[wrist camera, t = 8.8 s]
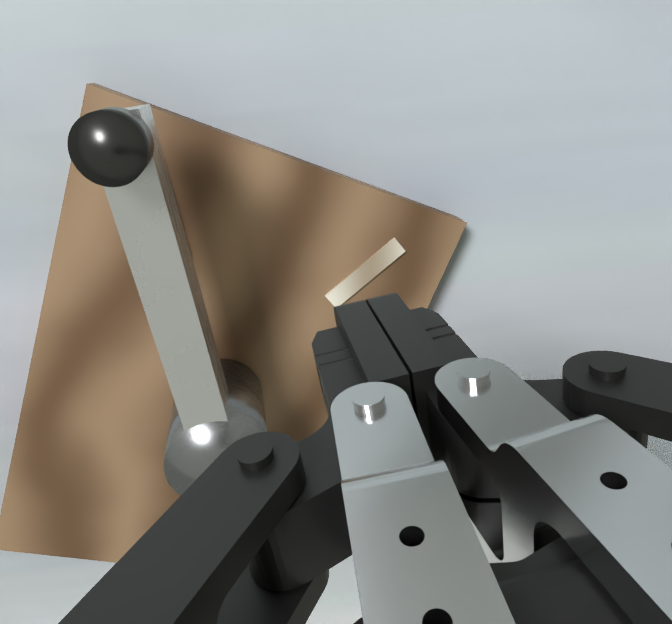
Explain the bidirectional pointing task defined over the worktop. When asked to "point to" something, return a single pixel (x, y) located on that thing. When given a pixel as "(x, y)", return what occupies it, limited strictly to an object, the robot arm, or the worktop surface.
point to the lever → (168, 290)
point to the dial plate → (223, 312)
